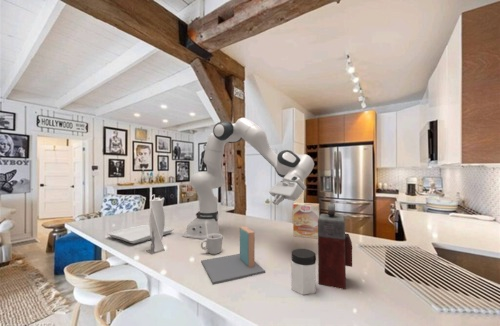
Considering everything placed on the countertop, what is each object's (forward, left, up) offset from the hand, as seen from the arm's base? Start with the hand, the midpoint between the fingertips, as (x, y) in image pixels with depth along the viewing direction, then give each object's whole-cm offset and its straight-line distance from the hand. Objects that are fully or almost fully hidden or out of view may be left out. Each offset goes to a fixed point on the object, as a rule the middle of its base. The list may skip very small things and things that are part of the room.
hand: (274, 203), depth 102 cm
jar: (+10, -25, -25) cm, 37 cm away
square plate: (-81, +20, -25) cm, 87 cm away
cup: (-31, +1, -25) cm, 39 cm away
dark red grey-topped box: (+22, -19, -25) cm, 39 cm away
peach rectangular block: (-12, -10, -24) cm, 28 cm away
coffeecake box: (+18, +34, -25) cm, 46 cm away
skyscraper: (-60, +1, -25) cm, 65 cm away
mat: (-18, -13, -24) cm, 33 cm away
